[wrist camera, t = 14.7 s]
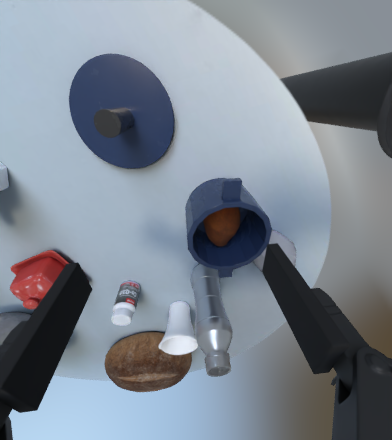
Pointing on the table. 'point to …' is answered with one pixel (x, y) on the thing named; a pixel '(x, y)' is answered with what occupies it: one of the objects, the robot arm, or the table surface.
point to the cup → (179, 331)
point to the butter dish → (36, 277)
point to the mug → (3, 177)
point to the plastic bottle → (211, 320)
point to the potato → (222, 225)
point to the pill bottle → (125, 303)
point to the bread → (145, 363)
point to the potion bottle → (283, 243)
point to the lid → (121, 111)
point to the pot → (246, 234)
